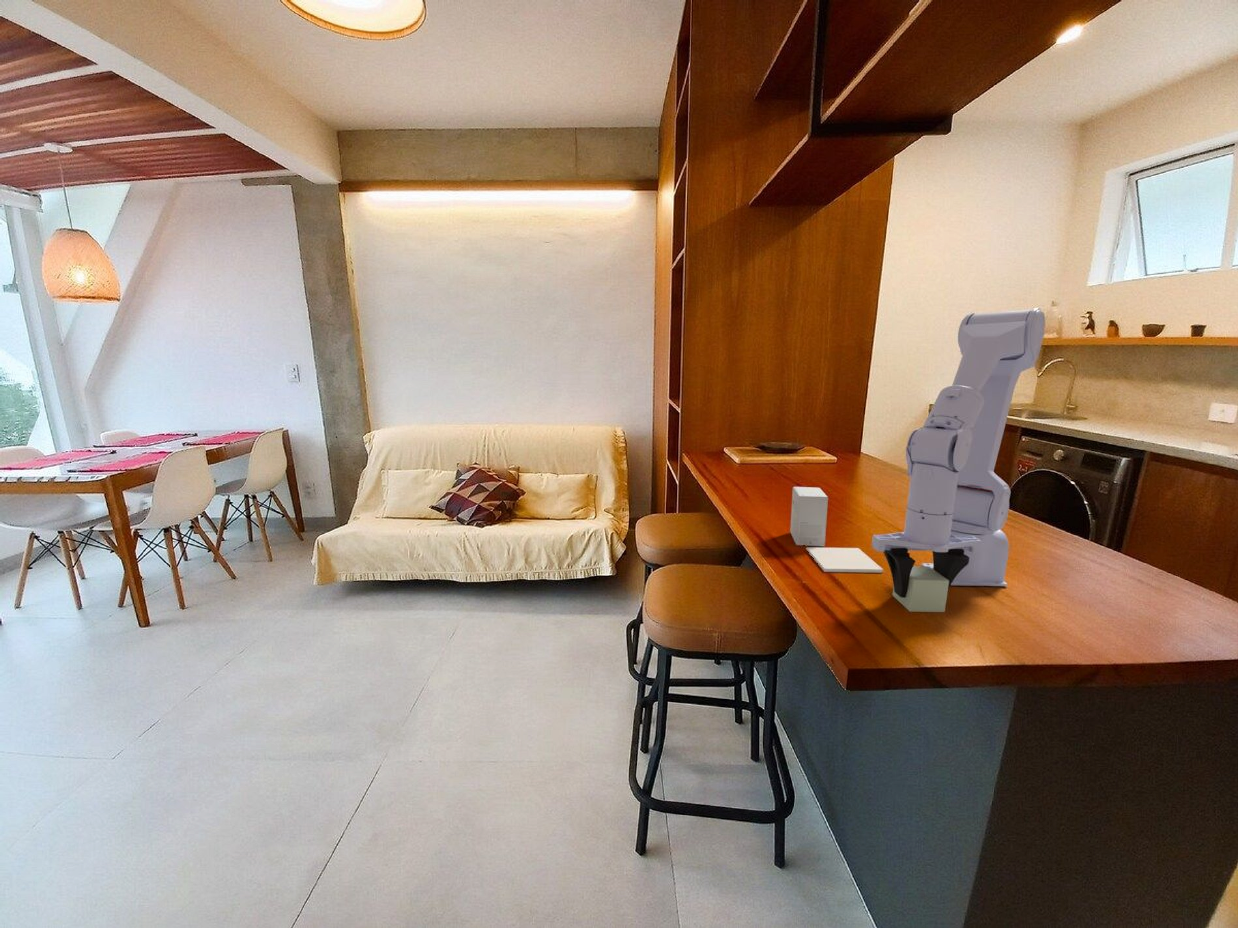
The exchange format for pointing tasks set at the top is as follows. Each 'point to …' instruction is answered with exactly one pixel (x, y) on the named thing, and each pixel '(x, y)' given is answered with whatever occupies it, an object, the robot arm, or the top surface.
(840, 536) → the top surface
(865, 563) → the tile
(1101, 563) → the top surface
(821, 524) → the small box
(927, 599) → the cube
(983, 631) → the top surface
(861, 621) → the top surface
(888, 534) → the robot arm
